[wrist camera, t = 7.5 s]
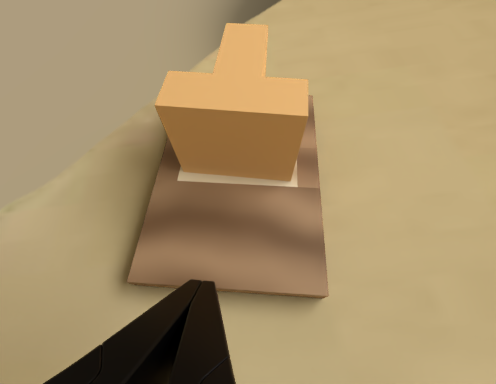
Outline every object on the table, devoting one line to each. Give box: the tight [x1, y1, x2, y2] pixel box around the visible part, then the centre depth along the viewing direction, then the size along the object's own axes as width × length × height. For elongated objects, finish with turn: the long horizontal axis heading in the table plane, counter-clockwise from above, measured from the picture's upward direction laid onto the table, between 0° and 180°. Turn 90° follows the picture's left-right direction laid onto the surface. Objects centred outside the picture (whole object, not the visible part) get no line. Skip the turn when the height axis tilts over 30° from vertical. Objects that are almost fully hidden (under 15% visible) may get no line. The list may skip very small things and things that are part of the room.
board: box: [127, 95, 329, 298], centre depth 24 cm, size 21×15×2 cm
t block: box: [155, 23, 308, 181], centre depth 22 cm, size 10×10×8 cm
